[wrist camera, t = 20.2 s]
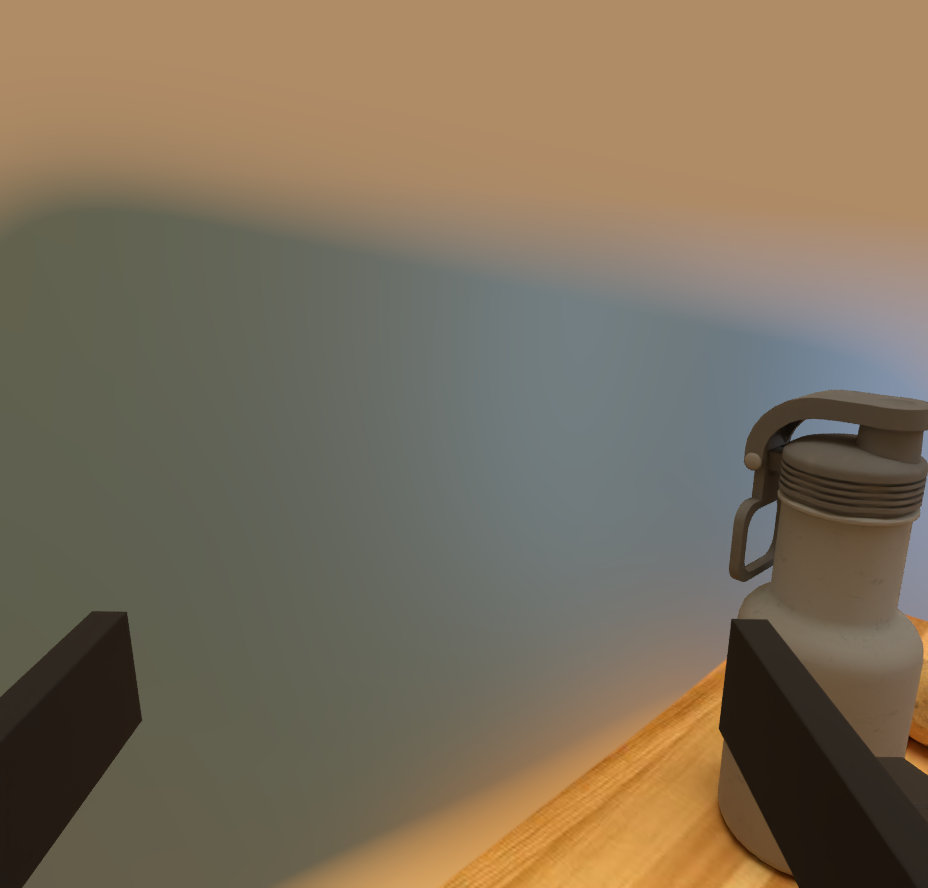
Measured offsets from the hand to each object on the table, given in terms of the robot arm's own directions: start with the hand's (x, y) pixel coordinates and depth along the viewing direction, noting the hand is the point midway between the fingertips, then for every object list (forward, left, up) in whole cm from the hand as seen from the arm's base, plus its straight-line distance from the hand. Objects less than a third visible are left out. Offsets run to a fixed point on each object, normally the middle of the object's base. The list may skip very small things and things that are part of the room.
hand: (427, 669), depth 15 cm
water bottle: (+21, +24, -27) cm, 42 cm away
